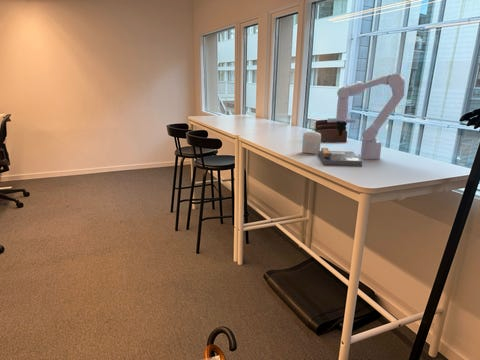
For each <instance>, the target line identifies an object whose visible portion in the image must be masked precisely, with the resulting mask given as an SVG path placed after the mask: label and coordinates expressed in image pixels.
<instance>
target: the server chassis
mask: <svg viewBox="0 0 480 360" xmlns="http://www.w3.org/2000/svg"><path fill="white" fill-rule="evenodd" d="M329 151H330V153H332V155H331V158H328V157H324V155H323V154H322V152H321V150H320V151H319V154H318V156H317V157H319V159H320V161H321V164H322V165H323V166H336V167H337V166H342V167H343V166H345V167H362V166H363V160H362V158H361V157H359V156H358V155H357V154H356V153H354V151H344V150H343V151H341V150H340V151H339V150H336V151H335V150H329Z"/></svg>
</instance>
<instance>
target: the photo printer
mask: <svg viewBox="0 0 480 360" xmlns="http://www.w3.org/2000/svg"><path fill="white" fill-rule="evenodd" d="M321 143H322V142H321V134H320V133H318V132H315V130H314V131H313V130H312V131H311V130H309V131H308V130H307V131H305V132H303V135H302V146H301V147H302V148H301V152H302V153H305V154H312V155H318V154H319V151H321Z"/></svg>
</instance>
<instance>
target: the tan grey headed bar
mask: <svg viewBox="0 0 480 360" xmlns="http://www.w3.org/2000/svg"><path fill="white" fill-rule="evenodd" d="M320 151H321V152H322V154H323V155H324V157H328V158H331V155H332V153H330V151H331V150H330V149H329V148H328V147H320Z"/></svg>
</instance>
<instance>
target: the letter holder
mask: <svg viewBox="0 0 480 360" xmlns="http://www.w3.org/2000/svg"><path fill="white" fill-rule="evenodd" d="M327 120H328V119H319V120H316V121H315V128H314V129H315V130H314V132H318V133H320V134H321V143H337V142H347V143H348V140H347V139H348V131H347V126H346V127H345V128H344V130H343V133H342V136H338V129H337V126H336V122H327Z"/></svg>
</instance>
